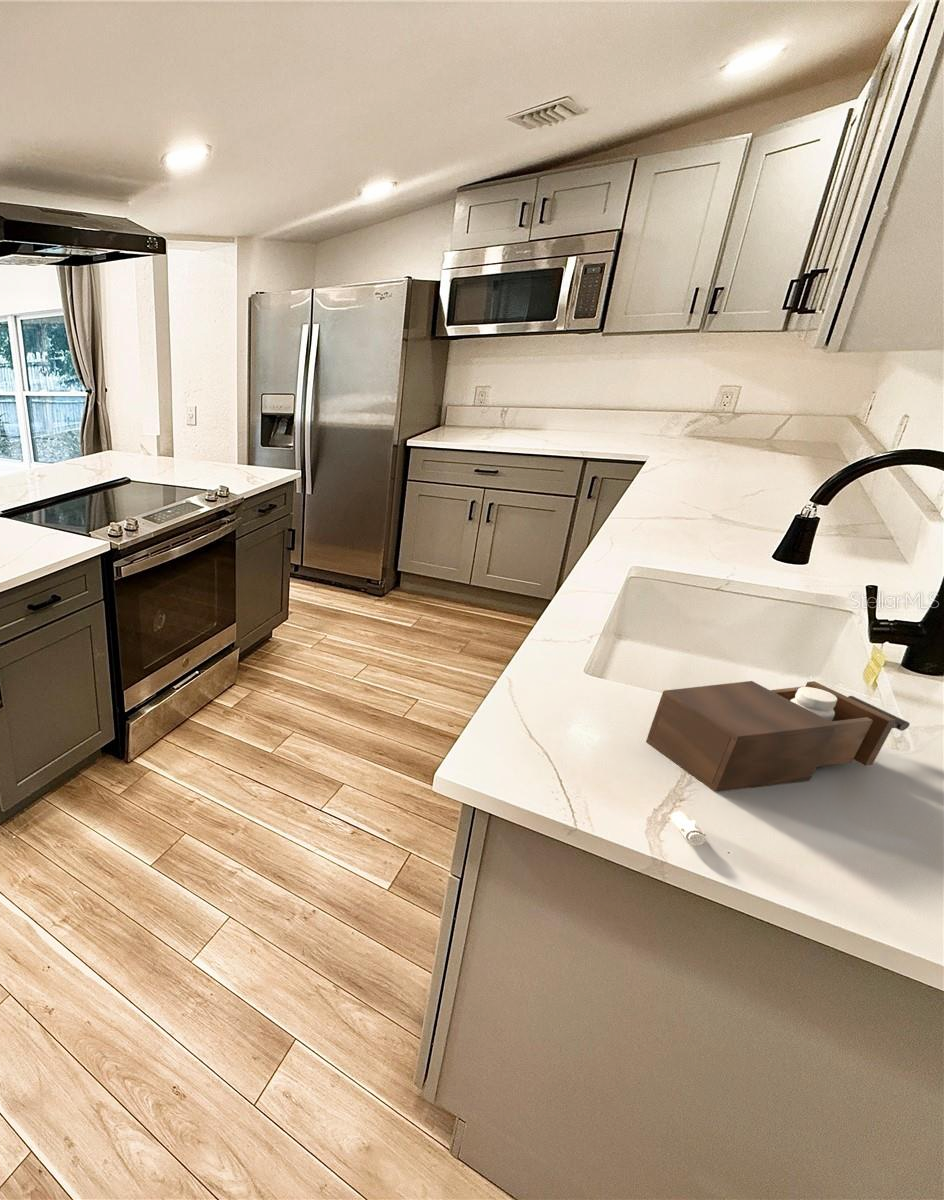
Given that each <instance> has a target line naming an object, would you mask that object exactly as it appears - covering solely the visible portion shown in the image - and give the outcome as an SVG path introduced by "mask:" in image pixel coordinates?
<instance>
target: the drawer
mask: <svg viewBox="0 0 944 1200" xmlns="http://www.w3.org/2000/svg"><path fill="white" fill-rule="evenodd" d="M801 687H811V688H817V689H821V690H824V691H827V692H829V693H831V694H833V695H835V696H836V697H837V702H836V705H835V707H834V708H833V710H834V712H835V715H834V718H833V720H832V721H830V722H832V723H834V724H836V725H837V727H836V729H835V731H834V733H833V735H832V737H831V739H830V741H829V743H828V745H827V747H826V749H825V751H824V753H823V755H822V757H821V759H820V761H819V763H818V765H817V767H821V766H830V765H839V764H846V763H847V764H848V763H852V762H853V760H854V761H856V762H857V763H859V764H861V765H863V766H865V767H866V766H873V765H874V763H875V760H876V759H877V757H878V755H879V754H880V752H881V750H882V748H883V746H884V744H885V742H886V741H887V739H888V736H889V735H890V733H891V731H892V729H896V730H898V731H901V732H902V731H905V730H907V729H908V728H909V727H910V722H909V721H907V720H904V719H903V718H900V717H899V716H897V715H894V714H892V713H890V712H887V711H886V710H883V709H881V708H879V707H878V706H874V705H873V704H870V703H868V702H866V701H865V700H862V699H860V698H859V697H856V696H854V695H848V696H847V695H844V694H843V693H840V692H839V691H836V690H834V689H831V688H830V687H827V686H825V685H823V684H821V683H819V682H817V681H816V680H815V681H814V680H813V681H812V680H811V681H807V682H806V683H805V686H795V687H786V688H776V689H769V690H770V691H772V692H774V693H776V694H778V695H780V696H782V697H784V698H786V699H788V700H791V699H793V698H795V695H796V693H797V691H798V689H799V688H801Z"/></svg>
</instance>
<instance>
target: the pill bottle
mask: <svg viewBox="0 0 944 1200" xmlns="http://www.w3.org/2000/svg"><path fill="white" fill-rule="evenodd" d="M800 687H801V688H799V689H798V691H797V693H796V695H795V698H793V699H791V700H790V701H792V702H794V703H796V704H797V705H799V706H801V707H803V708H805V709H807V710H809V711H811V712H813V713H815V714H817V715H819V716H821V717H823V718H825V719H826V720H828V721H832V720H833V718H834V715H835V712H834V710H833V708H834V707H835V705H836V702H837V697H836V696H835V695H833V694H831V693H829V692H827V691H824V690H821V689H817V688H811V687H805V686H804V687H803V686H800Z"/></svg>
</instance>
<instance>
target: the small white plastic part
mask: <svg viewBox="0 0 944 1200" xmlns="http://www.w3.org/2000/svg"><path fill="white" fill-rule="evenodd" d="M670 819H671V822H672V823H673V824H674V825H675V826H676V828H677V829H678V831H679V832H680V833H681V834H682V836H683V837H684V838H685V839H686V841H687V842H688V843H690V844H692V845H696V846H700V845H703V844H704V843H705V841H706V836H707V834H706V832H704V831H703V830H702V829H701V828H700V827H699V826H698V825H697V824H696V821H695V820H694V819H693V820H692V819H691V817H690V816H689V815H688V814H687V813H685V812H683V811H675V812H673V813H672V814H671V816H670Z"/></svg>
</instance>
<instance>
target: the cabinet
mask: <svg viewBox="0 0 944 1200" xmlns="http://www.w3.org/2000/svg"><path fill="white" fill-rule="evenodd" d="M770 690H771V689H768V688H767V687H765V686H763V685H761V684H759V683H757V682H755V681H753V680H748V681H739V682H728V683H720V684H712V685H702V686H701V685H700V686H692V687H684V688H675V689H673V688H672V689H666V690H665V689H664V690H662V693H661V696H660V699H659V702H658V705H657V708H656V711H655V714H654V716H653V719H652V723H651V725H650V728H649V731H648V733H647V738H646V739H645V742H646V744H648V745H649V746H651V747H652V748H654V749H655V750H656V751H658V752H659V753H661V754H662V755H663V756H665V757H666V758H667V759H669V760H670V761H672V762H673V763H674V764H676V765H677V766H679V767H680V768H682V769H683V770H684V771H686V772H687V773H688V774H690V775H691V776H693V777H694V778H695V779H696V780H698V781H699V782H701V783H702V784H703V785H705V786H706V787H708V788H709V789H710V790H712V791H713V792H714V793H720V792H725V791H734V790H744V789H751V788H760V787H768V786H776V785H784V784H791V783H792V784H793V783H799V782H808V781H811V780H812V778H813V775H814V774H815V771H816V769H817V768H818V766H817V765H818V763H819V761H820V759H821V757H822V755H823V753H824V751H825V749H826V747H827V745H828V743H829V741H830V739H831V737H832V735H833V733H834V731H835V729H836V727H837V725H836V724H834V723H832V722H830V721H828V720H826V719H825V718H823V717H821V716H819V715H817V714H815V713H813V712H811V711H809V710H807V709H805V708H803V707H801V706H799V705H797V704H796V703H794V702H792V701H790V700H788V699H786V698H784V697H782V696H780V695H778V694H776V693H774V692H772V691H770Z"/></svg>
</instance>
